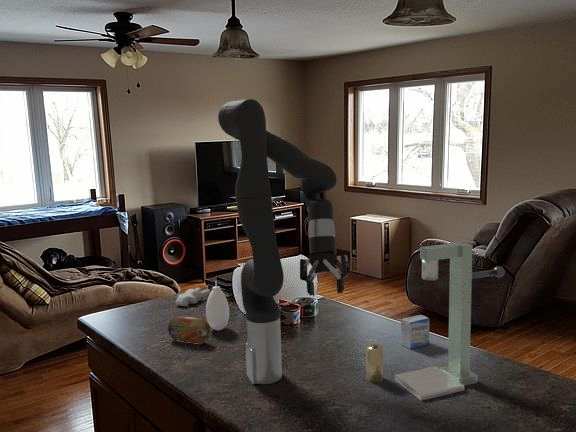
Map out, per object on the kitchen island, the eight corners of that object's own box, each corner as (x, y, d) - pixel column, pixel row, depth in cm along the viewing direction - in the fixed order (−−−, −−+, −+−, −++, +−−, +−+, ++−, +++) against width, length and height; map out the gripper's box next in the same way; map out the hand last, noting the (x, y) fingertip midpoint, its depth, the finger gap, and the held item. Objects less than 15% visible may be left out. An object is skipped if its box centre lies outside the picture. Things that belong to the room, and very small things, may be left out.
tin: (168, 341, 171) (166, 316, 170) (173, 337, 174) (172, 313, 172) (207, 346, 165) (206, 321, 164) (212, 343, 168) (211, 318, 167)
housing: (371, 383, 137) (371, 350, 136) (363, 376, 141) (363, 344, 140) (386, 380, 139) (386, 347, 137) (377, 373, 143) (377, 341, 142)
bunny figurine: (169, 296, 207) (195, 282, 219) (171, 308, 208) (196, 293, 220) (187, 299, 202) (212, 285, 214) (188, 311, 203) (213, 297, 215)
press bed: (421, 400, 128) (422, 255, 122) (394, 380, 139) (395, 245, 133) (516, 377, 138) (521, 242, 132) (484, 360, 149) (488, 234, 143)
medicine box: (409, 349, 158) (410, 322, 157) (400, 344, 162) (400, 318, 161) (429, 344, 162) (429, 317, 160) (419, 339, 166) (420, 313, 164)
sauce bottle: (234, 327, 181) (231, 278, 178) (219, 335, 174) (217, 283, 172) (217, 324, 185) (214, 275, 182) (202, 331, 179) (199, 280, 176)
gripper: (293, 238, 146) (296, 296, 143) (340, 232, 139) (344, 292, 136) (305, 240, 152) (308, 296, 149) (350, 235, 146) (354, 292, 143)
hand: (325, 294), depth 143 cm, fingers open, 8 cm apart
